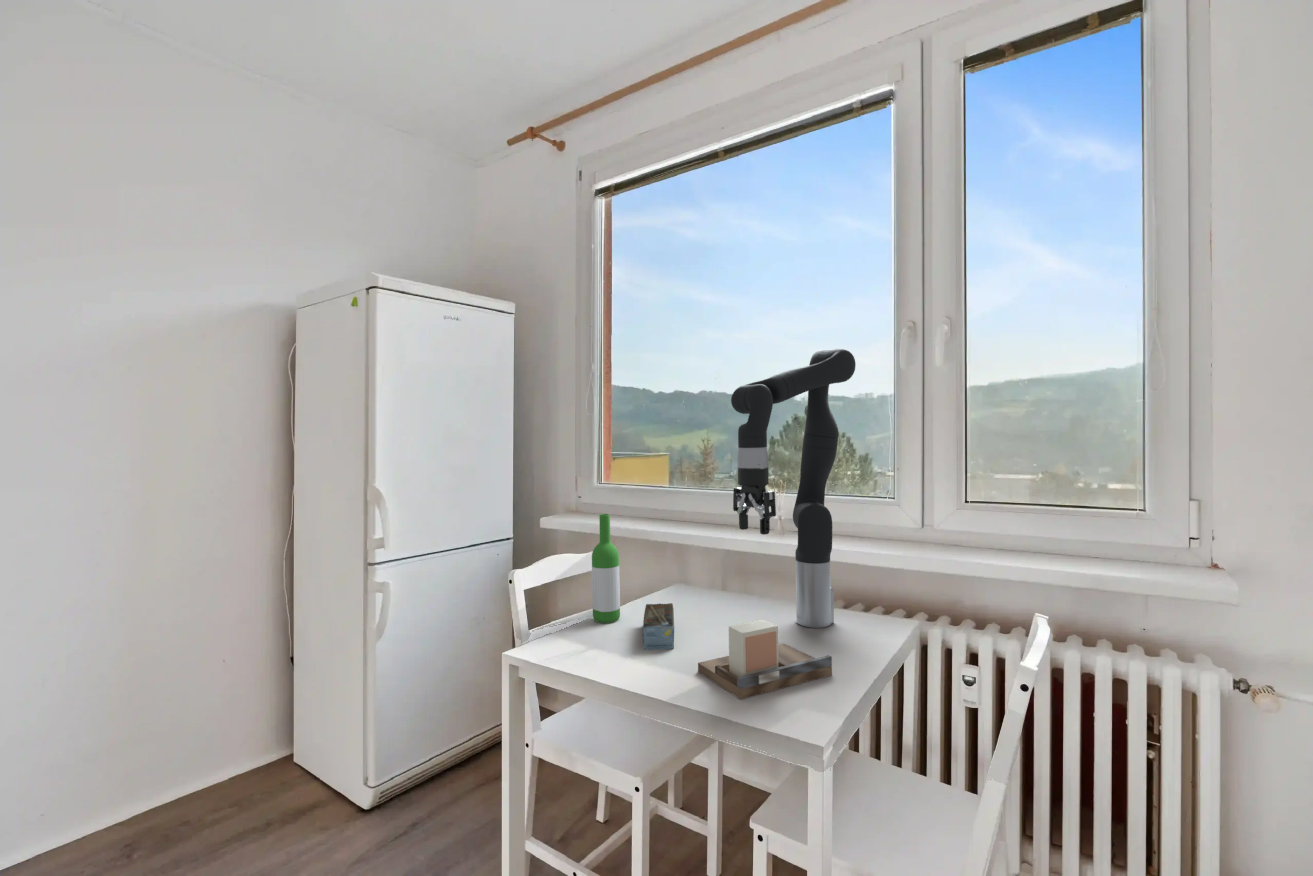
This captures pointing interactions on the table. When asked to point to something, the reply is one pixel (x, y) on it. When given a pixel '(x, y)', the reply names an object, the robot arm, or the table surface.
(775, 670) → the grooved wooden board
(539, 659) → the table surface
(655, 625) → the beverage carton
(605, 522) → the wine bottle
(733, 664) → the tea box
